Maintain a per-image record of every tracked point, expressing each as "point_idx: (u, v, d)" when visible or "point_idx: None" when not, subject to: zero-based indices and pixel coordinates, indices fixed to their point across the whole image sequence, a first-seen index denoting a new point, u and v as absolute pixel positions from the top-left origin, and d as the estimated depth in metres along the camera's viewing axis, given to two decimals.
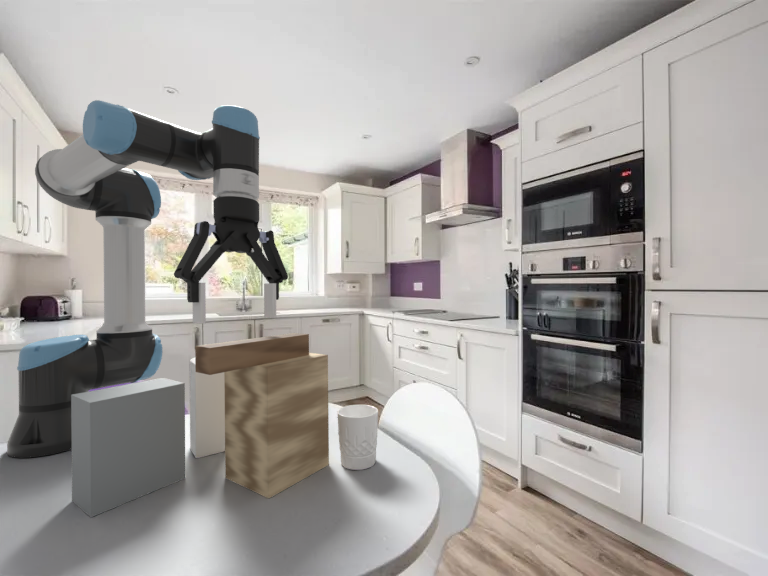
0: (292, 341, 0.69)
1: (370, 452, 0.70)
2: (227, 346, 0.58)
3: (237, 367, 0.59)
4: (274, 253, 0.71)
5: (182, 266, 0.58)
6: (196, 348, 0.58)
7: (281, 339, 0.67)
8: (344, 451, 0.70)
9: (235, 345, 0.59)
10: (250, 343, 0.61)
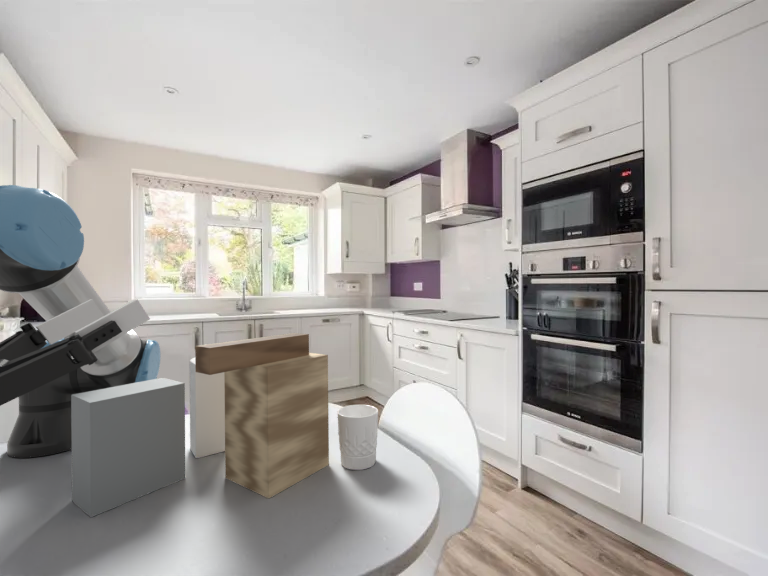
0: (292, 341, 0.69)
1: (370, 452, 0.70)
2: (227, 346, 0.58)
3: (237, 367, 0.59)
4: None
5: (62, 355, 0.36)
6: (196, 348, 0.58)
7: (281, 339, 0.67)
8: (344, 451, 0.70)
9: (235, 345, 0.59)
10: (250, 343, 0.61)
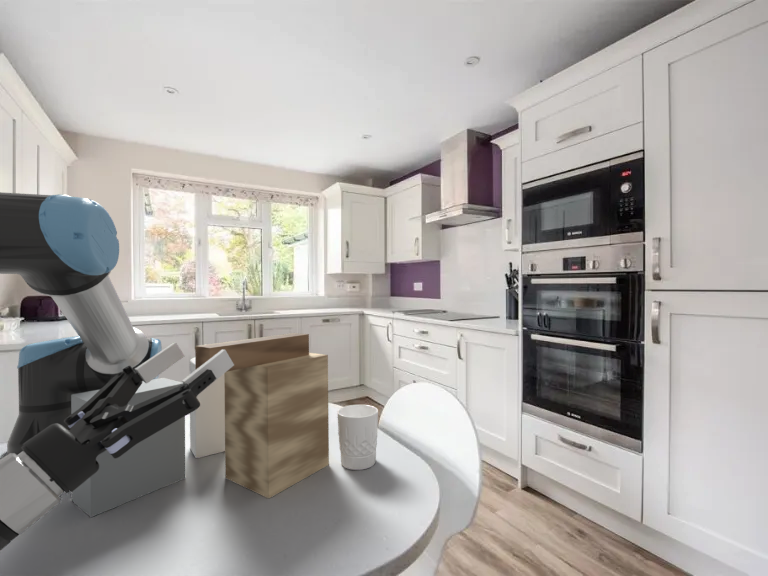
0: (292, 341, 0.69)
1: (370, 452, 0.70)
2: (227, 346, 0.58)
3: (237, 367, 0.59)
4: (96, 396, 0.52)
5: (180, 403, 0.44)
6: (196, 348, 0.58)
7: (281, 339, 0.67)
8: (344, 451, 0.70)
9: (235, 345, 0.59)
10: (250, 343, 0.61)
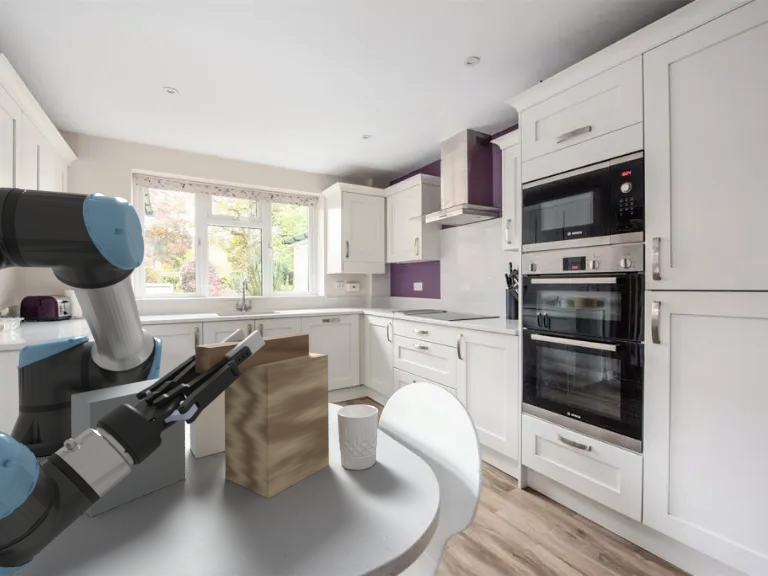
0: (292, 341, 0.69)
1: (370, 452, 0.70)
2: (227, 346, 0.58)
3: None
4: (165, 377, 0.57)
5: (229, 371, 0.54)
6: (196, 348, 0.58)
7: (281, 339, 0.67)
8: (344, 451, 0.70)
9: (235, 345, 0.59)
10: None
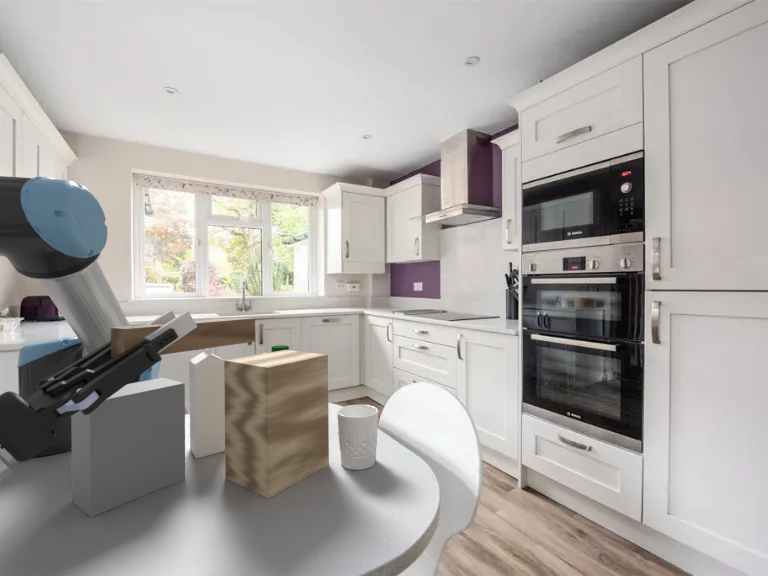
0: (234, 325, 0.62)
1: (370, 452, 0.70)
2: (147, 328, 0.51)
3: (161, 352, 0.52)
4: (75, 363, 0.50)
5: (144, 355, 0.47)
6: (111, 330, 0.51)
7: (219, 322, 0.60)
8: (344, 451, 0.70)
9: (158, 327, 0.52)
10: None
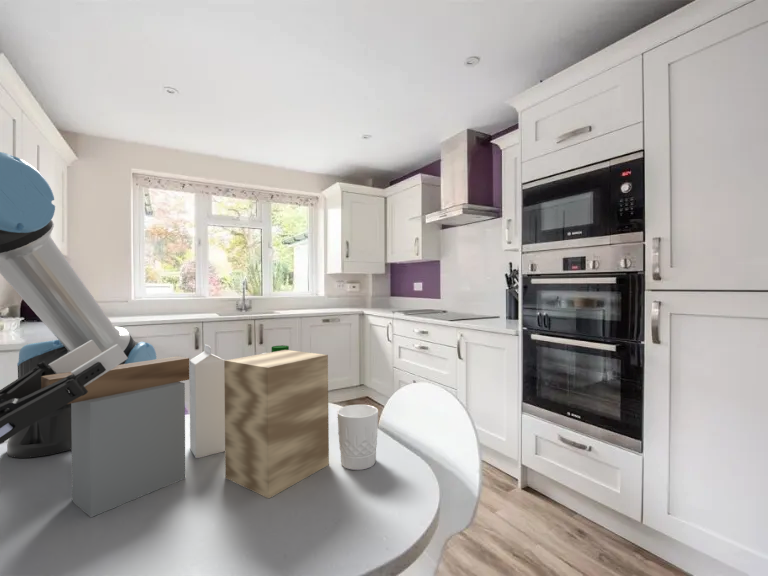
0: (166, 366, 0.67)
1: (370, 452, 0.70)
2: None
3: (88, 397, 0.57)
4: (0, 391, 0.55)
5: (63, 391, 0.50)
6: (41, 378, 0.56)
7: (150, 365, 0.65)
8: (344, 451, 0.70)
9: None
10: (107, 372, 0.59)
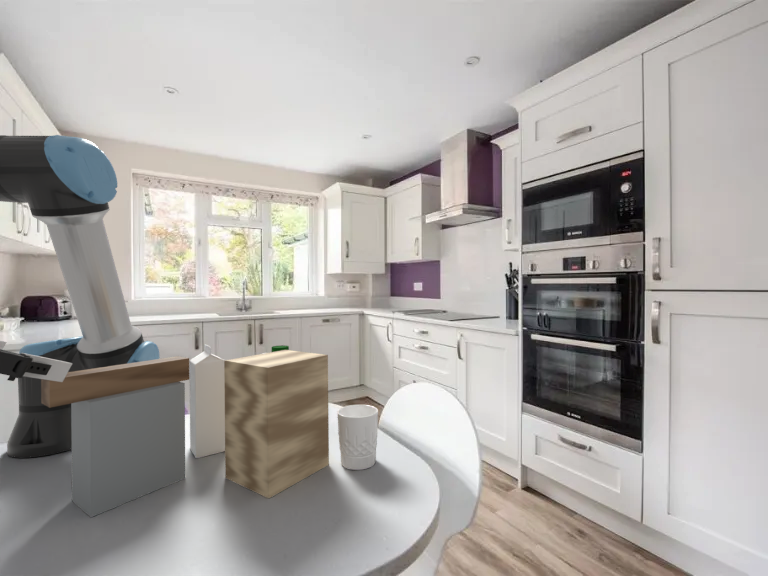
0: (166, 366, 0.67)
1: (370, 452, 0.70)
2: (74, 376, 0.56)
3: (88, 397, 0.57)
4: None
5: (14, 360, 0.45)
6: None
7: (150, 365, 0.65)
8: (344, 451, 0.70)
9: (85, 375, 0.57)
10: (107, 372, 0.59)
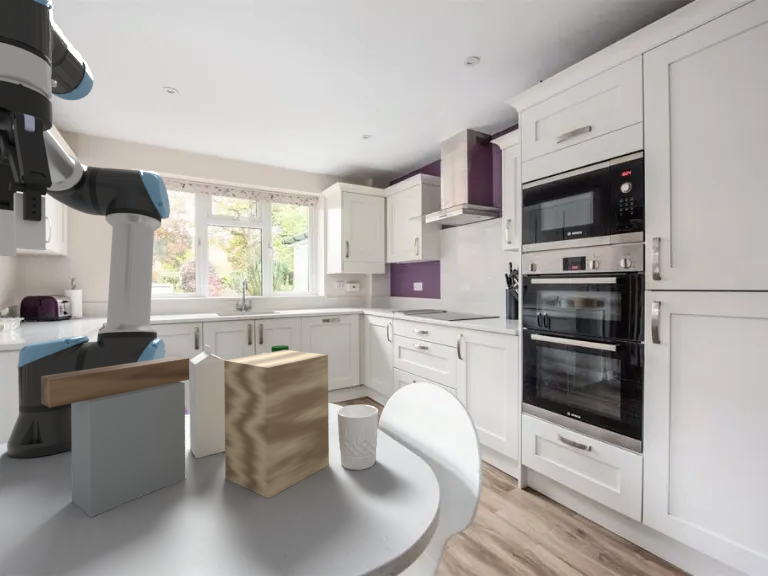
0: (166, 366, 0.67)
1: (370, 452, 0.70)
2: (74, 376, 0.56)
3: (88, 397, 0.57)
4: None
5: (43, 171, 0.45)
6: (41, 378, 0.56)
7: (150, 365, 0.65)
8: (344, 451, 0.70)
9: (85, 375, 0.57)
10: (107, 372, 0.59)
